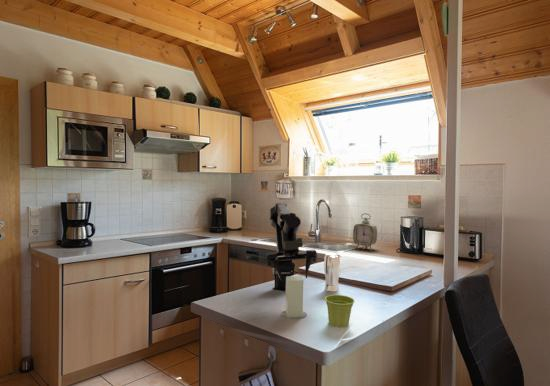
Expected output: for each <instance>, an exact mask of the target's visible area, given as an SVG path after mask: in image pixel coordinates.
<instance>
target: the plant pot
mask: <svg viewBox="0 0 550 386" xmlns="http://www.w3.org/2000/svg"><path fill="white" fill-rule="evenodd" d="M324 300H325V302H326V303H325V304H326V306H327V307H326V308H327V315H328V316H327V317H328V323H329V325H330V326H332V327H337V328H347V327H348V326H349V324H350V319H351V313H352V308H353V306H354V303H355V299H354V298H353V297H351V296H348V295H343V294H342V295H341V294H331V295H326V296H325V298H324Z"/></svg>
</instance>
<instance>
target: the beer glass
mask: <svg viewBox="0 0 550 386" xmlns="http://www.w3.org/2000/svg"><path fill="white" fill-rule="evenodd" d="M323 261H324V262H323V269H324V277H325V285H324V291H325V292H328V293H329V292H330V293H331V292H334V293H335V292H338V291H339V290H340V288H339V287H340V286H339V277H340V275H341V265H342V264H341V255H340V254H335V253H326V254H325V255H324V259H323Z"/></svg>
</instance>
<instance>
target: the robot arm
mask: <svg viewBox="0 0 550 386" xmlns="http://www.w3.org/2000/svg"><path fill="white" fill-rule="evenodd" d="M287 205H288V204H287V203H286V202H285V203H284V202H276V203H275V204H274V206H272V207H271V208H270V209H269V213H268V218H269V221H270V224H271V226H272V227H273V228H274V233H275V242H276V243H275V244H276V252H270V253H267V254H266V263H267V266H268V267H270V268H271V269H272V275H273V276H274V286H273V287H272V290H276V291H282V292H286V276H294V275H295V267H296V264H295V260H305V264H304V265H305V268H304V270H305V273H304V274H305V279H308V275H309V270H310V267H311V265H314V263H316V262H317V258H318V255H317V250H316V249H305V251H304V253H300V249H299V248H303V238H301V237H299V238H298V237H297V233H298V232H299V229H300V226H301V219H300V218H299V216H297V213H296V212H294V211H290V209H289V207H288V206H287Z"/></svg>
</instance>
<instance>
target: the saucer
mask: <svg viewBox="0 0 550 386" xmlns="http://www.w3.org/2000/svg"><path fill="white" fill-rule="evenodd" d="M280 316H281V317H283V318H284V319H288V320H301V319H305V318H306V317H308V315H307V313H306V312H305V311H303V317H287V315H286V312H285V310H283V311H281V313H280Z"/></svg>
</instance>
